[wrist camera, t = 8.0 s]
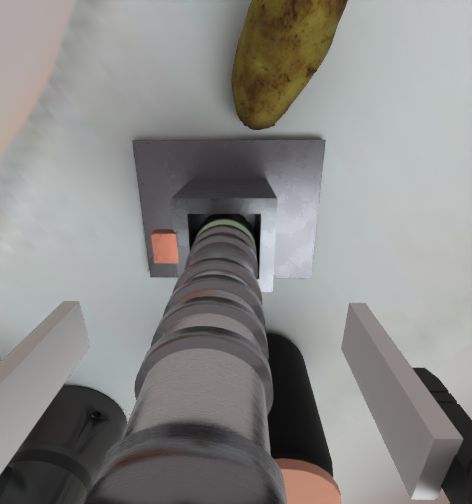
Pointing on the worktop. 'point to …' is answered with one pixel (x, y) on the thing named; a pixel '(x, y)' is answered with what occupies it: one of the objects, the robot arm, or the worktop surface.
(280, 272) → the stand
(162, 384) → the column
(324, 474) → the coffee jar
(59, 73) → the worktop surface
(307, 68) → the potato
